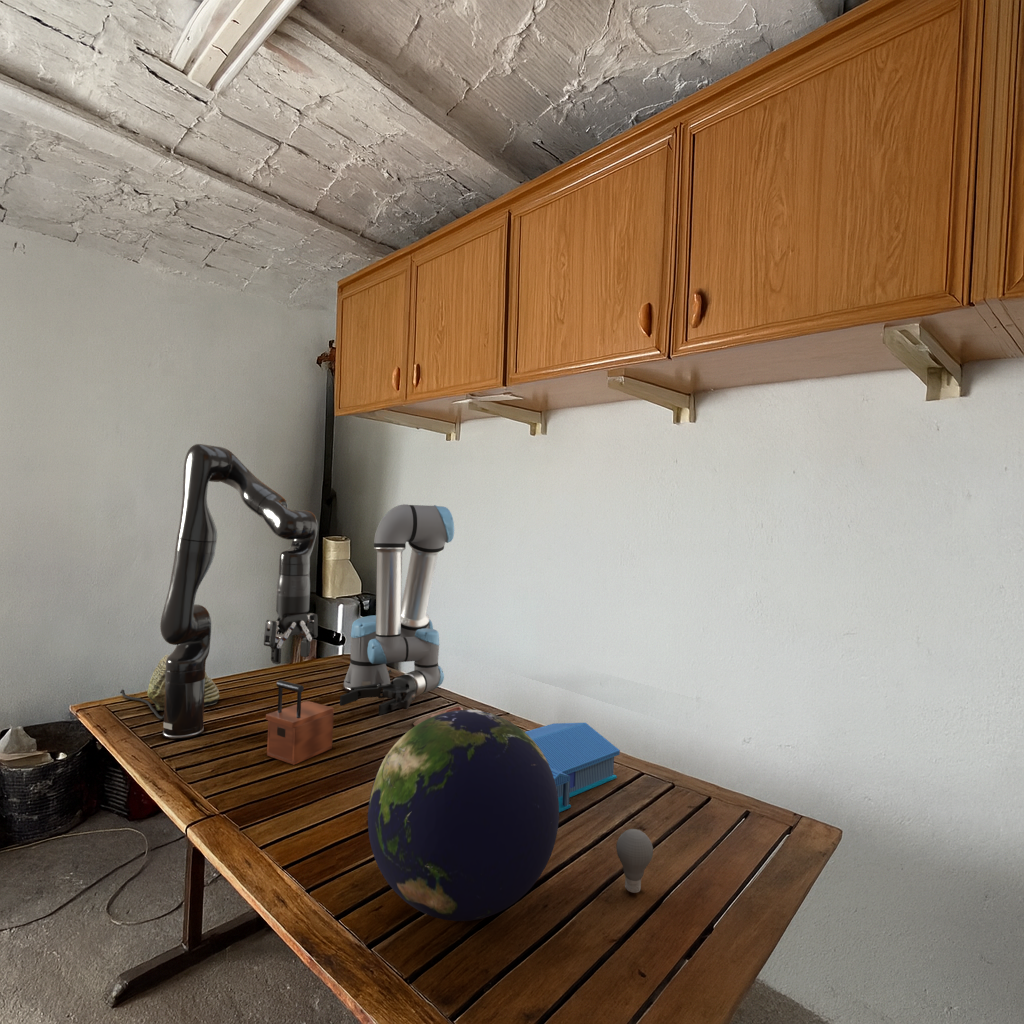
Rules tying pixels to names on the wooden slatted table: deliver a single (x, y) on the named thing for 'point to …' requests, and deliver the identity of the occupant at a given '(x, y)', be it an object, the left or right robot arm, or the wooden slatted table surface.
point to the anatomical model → (436, 714)
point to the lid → (297, 708)
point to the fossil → (158, 687)
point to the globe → (463, 815)
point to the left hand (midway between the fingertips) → (290, 659)
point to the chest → (300, 740)
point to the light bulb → (634, 857)
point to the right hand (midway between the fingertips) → (359, 705)
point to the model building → (575, 757)
